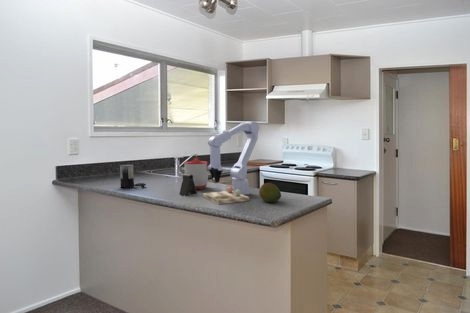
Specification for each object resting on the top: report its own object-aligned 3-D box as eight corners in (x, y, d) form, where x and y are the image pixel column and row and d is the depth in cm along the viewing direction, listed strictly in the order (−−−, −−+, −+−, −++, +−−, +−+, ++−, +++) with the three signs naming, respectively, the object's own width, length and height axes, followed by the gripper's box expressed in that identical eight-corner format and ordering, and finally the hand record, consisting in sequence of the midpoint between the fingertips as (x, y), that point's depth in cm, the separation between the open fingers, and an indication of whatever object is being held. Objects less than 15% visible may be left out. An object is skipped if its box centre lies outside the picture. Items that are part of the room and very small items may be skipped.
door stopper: (185, 196, 215) (185, 175, 214) (179, 194, 219) (178, 174, 218) (197, 193, 222) (196, 173, 221) (190, 192, 226) (190, 173, 225)
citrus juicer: (210, 190, 232) (209, 158, 230) (182, 190, 233) (182, 158, 231) (212, 185, 248) (211, 156, 246) (186, 186, 248) (185, 156, 246)
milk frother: (119, 186, 250) (118, 165, 249) (142, 184, 257) (142, 163, 255) (122, 190, 237) (121, 167, 236) (147, 188, 244) (146, 165, 242)
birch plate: (231, 193, 220) (231, 190, 220) (248, 200, 200) (248, 197, 200) (203, 196, 212) (203, 193, 212) (218, 204, 192) (218, 200, 192)
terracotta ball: (231, 191, 216) (231, 185, 216) (233, 192, 213) (233, 186, 212) (225, 192, 214) (225, 186, 214) (228, 193, 211) (228, 187, 211)
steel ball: (217, 182, 212) (217, 176, 212) (219, 183, 209) (219, 177, 208) (211, 183, 210) (211, 177, 210) (214, 184, 207) (213, 177, 207)
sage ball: (239, 194, 206) (239, 188, 206) (242, 196, 203) (242, 189, 203) (233, 195, 204) (233, 189, 204) (236, 196, 201) (236, 190, 201)
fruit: (267, 198, 205) (267, 180, 204) (286, 201, 197) (286, 182, 196) (254, 202, 196) (254, 183, 195) (274, 205, 188) (274, 186, 187)
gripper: (204, 157, 213) (204, 180, 214) (213, 159, 200) (214, 184, 201) (215, 156, 216) (216, 179, 217) (225, 158, 203) (225, 183, 204)
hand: (215, 181), depth 209 cm, fingers closed on steel ball, 3 cm apart
